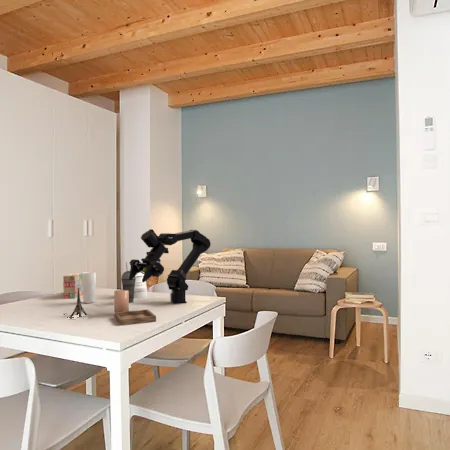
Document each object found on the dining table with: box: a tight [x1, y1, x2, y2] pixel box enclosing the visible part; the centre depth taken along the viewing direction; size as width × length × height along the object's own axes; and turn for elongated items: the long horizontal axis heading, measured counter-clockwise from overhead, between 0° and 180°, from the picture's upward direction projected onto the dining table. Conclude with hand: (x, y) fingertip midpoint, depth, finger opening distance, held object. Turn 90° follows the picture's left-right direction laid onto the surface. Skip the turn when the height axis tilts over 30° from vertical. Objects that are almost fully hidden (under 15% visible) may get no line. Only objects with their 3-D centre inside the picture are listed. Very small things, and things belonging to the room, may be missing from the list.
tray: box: [113, 309, 157, 326], centre depth 162 cm, size 14×14×2 cm
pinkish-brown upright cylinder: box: [113, 289, 130, 314], centre depth 172 cm, size 6×6×10 cm
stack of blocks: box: [62, 272, 83, 300], centre depth 222 cm, size 21×6×12 cm, turn 0°
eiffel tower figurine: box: [63, 285, 89, 320], centre depth 170 cm, size 15×10×13 cm
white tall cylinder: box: [81, 271, 97, 304], centre depth 199 cm, size 7×7×15 cm
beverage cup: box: [120, 261, 136, 304], centre depth 199 cm, size 7×7×20 cm
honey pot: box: [121, 267, 148, 300], centre depth 215 cm, size 13×13×18 cm
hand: (136, 280), depth 178 cm, fingers open, 9 cm apart
